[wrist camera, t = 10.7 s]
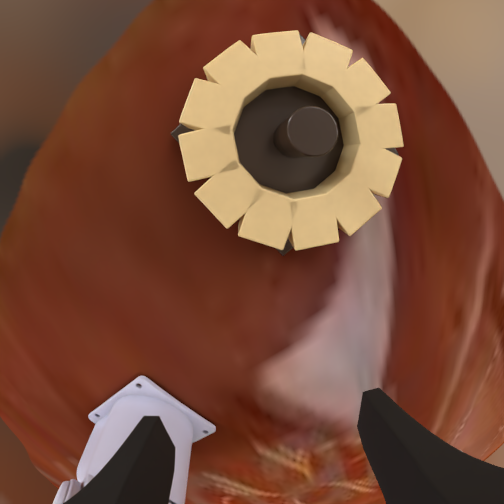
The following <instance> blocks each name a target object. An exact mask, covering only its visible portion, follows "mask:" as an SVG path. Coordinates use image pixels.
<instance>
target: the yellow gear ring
mask: <svg viewBox="0 0 504 504" xmlns="http://www.w3.org/2000/svg"><path fill="white" fill-rule="evenodd" d="M352 52H353V50H351V49H349V48H347V47H345V46H342V45H340V44H338V43H336V42H333V41H331V40H329V39H326V38H324V37H321V36H319V35H316V34H314V33H310V34H309V35H308V37H307V39H306V41H305V42H304V44H303V46H302V42H301V39H300V35H299V32H298V31H285V32H275V33H266V34H258V35H253V36H252V39H251V49H249V48H248V47H247V46H246V45H245V44H244V43H243V42H242V41H240V40H239V41H238V42H236V43H235V44H233V45H232V46H231V47H229V48H228V49H227V50H225V51H224V52H223V53H221V54H220V55H219V56H217V57H216V58H215V59H213V60H212V61H211V62H210V63H208V64H207V65H206V66H205V67H204V68H203V69H204V72H205V74H206V77H207V79H208V81H205V80H201V79H197V78H195V79H194V82H193V85H192V87H191V90H190V92H189V95H188V98H187V100H186V103H185V106H184V109H183V111H182V114H181V117H180V120H179V123H181V124H183V125H184V126H186V127H188V128H190V129H194V130H195V131H191V132H187V133H184V134H180V135H179V136H178V138H179V143H180V148H181V153H182V157H183V162H184V166H185V171H186V175H187V180H188V182H192V181H196V180H200V179H204V178H209V177H211V178H210V179H209V180H208V181H207V182H206V183H205V184H204V185H202V186H201V187H200V188H199V189H198V190H197V191H196V192H195V193H194V194H195V195H196V196H197V198H198V199H199V200H200V201H201V202H202V203H203V204H204V205H205V206H206V207H207V208H208V209H209V210H210V212H211V213H212V214H213V215H214V216H215V217H216V218H217V219H218V220H219V221H220V222H221V223H222V224H223V225H224V227H225V228H227V229H228V228H229V227H230V226H231V225H233V224H234V223H235V222H236V221H237V220H238V219H239V218H240V221H239V224H238V236H239V237H242V238H246V239H249V240H252V241H255V242H258V243H261V244H265V245H268V246H271V247H274V248H277V249H280V250H283V249H284V247H285V244H286V241H287V239H289V241H290V242H291V244H292V246H293V247H294V249H295V250H296V251H297V250H302V249H307V248H312V247H317V246H322V245H326V244H331V243H336V242H339V234H338V228H339V229H341V230H342V231H343V232H345V233H346V234H347V235H349V236H351V235H352V234H353V233H354V232H356V231H357V230H358V229H359V228H360V227H361V226H362V225H364V224H365V223H366V222H367V221H368V220H369V219H370V218H372V217H373V216H374V215H375V214H376V213H377V212H378V211H379V210H381V208H382V207H381V205H380V204H379V202H378V201H377V199H376V198H375V196H374V195H373V194H375V195H379V196H382V197H385V198H389V196H390V193H391V190H392V188H393V185H394V182H395V179H396V176H397V173H398V170H399V167H400V164H401V161H402V158H401V157H400V156H398V155H396V154H394V153H392V152H390V151H388V150H386V148H397V147H403V139H402V133H401V127H400V122H399V117H398V111H397V107H396V104H378V103H379V102H380V101H382V100H383V99H384V98H385V97H387V96H388V95H389V94H390V93H391V92H390V91H389V90H388V88H387V87H386V86H385V84H384V83H383V82H382V81H381V79H380V78H379V77H378V75H377V74H376V73H375V72H374V70H373V69H372V68H371V67H370V66H369V64H368V63H367V62H366V61H365V60H364V59H363V58H361V59H360V60H358V61H357V62H355V63H354V64H353V65H351V66H350V67H348V65H349V62H350V59H351V55H352ZM291 86H295V87H297V88H300V89H302V90H305V91H308V92H310V93H313V94H315V95H318V96H320V97H321V98H322V99H323V100H324V101H325V103H326V104H327V105H328V106H329V107H330V109H331V110H332V111H333V112H334V113H335V115H336V116H337V117H338V118H339V123H340V128H341V133H342V139H343V144H344V147H343V150H342V153H341V156H340V158H339V161H338V164H337V167H336V170H335V171H334V172H333V173H332V174H331V175H330V176H329V177H327V178H326V179H325V180H324V181H323V182H321V183H320V184H319V185H318V186H317V187H316V188H314V189H309V190H304V191H298V192H293V193H287V194H286V193H283V192H280V191H278V190H275V189H272V188H269V187H266V186H263V185H260V184H259V183H258V182H257V181H256V180H255V179H254V178H253V177H252V176H251V174H250V173H249V172H248V171H247V170H246V169H245V168H244V167H243V166H242V164H241V163H240V161H239V157H238V152H237V147H236V142H235V137H234V133H235V130H236V127H237V124H238V121H239V119H240V116H241V113H242V110H243V108H244V107H245V106H246V105H247V104H249V103H250V102H251V101H252V100H254V99H255V98H256V97H257V96H259V95H260V94H261V93H262V92H264V91H265V90H269V89H276V88H283V87H291Z"/></svg>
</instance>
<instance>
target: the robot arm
mask: <svg viewBox="0 0 504 504" xmlns="http://www.w3.org/2000/svg"><path fill="white" fill-rule="evenodd" d="M139 384H141V385H139ZM88 418H89V419H90V420H91V421H92V422H94V423H95V427H94V429H93V431H92V434H91V436H90V438H89V440H88V443H87V445H86V448H85V450H84V452H83V455H82V457H81V460H80V462H79V464H78V468H77V480H78V481H76V480H75V479H71V480H70V481H64V482H63V483H62V484H61V486H60V488H59V490H58V492H57V495H56V497H55V499H54V502H53V504H185V496H186V488H187V479H188V471H189V463H190V455H191V447H192V443H193V442H196V441H198V440H200V439H202V438H204V437H206V436H208V435H210V434H212V433H214V432H215V431H216V426H215V425H213V424H212V423H210V422H209V421H207V420H206V419H204V418H203V417H201V416H200V415H198V414H197V413H195V412H194V411H192V410H191V409H189V408H188V407H186V406H185V405H183V404H182V403H181V402H179V401H178V400H176V399H175V398H174V397H172V396H171V395H170V394H168V393H167V392H165V391H164V390H163V389H161V388H160V387H159V386H157V385H156V384H155V383H154V382H152V381H151V380H150V379H148V378H147V377H145V376H138V377H137V378H136V379H135V380H133V381H132V382H131V383H129V384H128V385H127V386H125V387H124V388H123V389H121V390H120V391H119V392H118V393H116V394H115V395H114V396H112V397H111V398H110V399H108V400H107V401H106V402H104V403H103V404H102V405H100V406H99V407H98V408H96V409H95V410H93V411H92V412H91V413H90V414H89V416H88ZM357 427H358V431H359V434H360V438H361V442H362V445H363V448H364V451H365V453H366V456H367V458H368V460H369V463H370V465H371V467H372V470H373V472H374V474H375V476H376V479H377V481H378V483H379V486H380V488H381V490H382V493H383V495H384V498H385V501H386V504H504V468H501V467H498V466H495V465H492V464H489V463H487V462H484V461H481V460H479V459H476V458H474V457H472V456H470V455H468V454H466V453H464V452H462V451H460V450H458V449H456V448H454V447H453V446H451V445H449V444H448V443H446V442H444V441H443V440H441V439H440V438H438V437H437V436H436V435H434V434H433V433H431V432H430V431H429V430H427V429H426V428H425V427H423V426H422V425H421V424H419V423H418V422H417V421H416V420H415V419H413V418H412V417H411V416H410V415H408V414H407V413H406V412H405V411H404V410H403V409H402V408H400V407H399V406H398V405H397V404H396V403H395V402H394V401H393V400H392V399H391V398H390V397H388V396H387V395H386V394H385V393H384V392H383V391H382V390H381V389H380V388H376V389H373V390H369V391H365V392H363V395H362V402H361V408H360V414H359V420H358V425H357Z"/></svg>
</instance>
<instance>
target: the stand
mask: <svg viewBox="0 0 504 504" xmlns="http://www.w3.org/2000/svg"><path fill="white" fill-rule="evenodd" d="M299 35H300V34H299ZM300 39H301V42H302V46H303V44H304V42H305V41H306V40H305V39H304V38H303V37H302V36H301V35H300ZM191 131H195V130H194V129H190V128H188V127H186V126H184V125H183V124H180V125H179V126H178V127H177V128H176V129H175V130H173V131H172V132H171V135H172V136H173V137H174V139H175V140H176V141H177V142H178V143H179V138H178V136H179V135H180V134H184V133H187V132H191ZM234 137H235V142H236V147H237V152H238V157H239V161H240V163H241V164H242V166H243V167H244V168H245V169H246V170H247V171H248V172H249V173H250V174H251V176H252V177H253V178H254V179H255V180H256V181H257V182H258V183H259V184H260V185H263V186H266V187H269V188H272V189H275V190H278V191H280V192H283V193H286V194H287V193H293V192H298V191H304V190H309V189H314V188H316V187H317V186H318V185H319V184H320V183H321V182H323V181H324V180H325V179H326V178H327V177H329V176H330V175H331V174H332V173H333V172H334V171H335V170H336V167H337V164H338V161H339V158H340V156H341V153H342V150H343V147H344V144H343V139H342V133H341V128H340V123H339V118H338V117H337V116H336V115H335V113H334V112H333V111H332V110H331V109H330V107H329V106H328V105H327V104H326V103H325V101H324V100H323V99H322V98H321V97H320V96H318V95H315V94H313V93H310V92H308V91H305V90H302V89H300V88H297V87H295V86H291V87H283V88H276V89H269V90H265V91H264V92H262V93H261V94H260V95H259V96H257V97H256V98H255V99H254V100H252V101H251V102H250V103H249V104H247V105H246V106H245V107H244V108H243V110H242V113H241V116H240V119H239V121H238V124H237V127H236V130H235V133H234ZM179 144H180V143H179ZM386 150H388V151H390V152H392V153H394V154H396V155H398V156H399V154H398V152H397V151H396V149H395V148H386ZM292 248H293V246H292V244H291V242H290V241H289V239H287V241H286V244H285V247H284V249H283V250H280V249H277V248H276V249H277V250H278V251H279V252H280V253H281V255H283V256H284V255H285V254H286V253H287V252H289V251H290V250H291V249H292Z"/></svg>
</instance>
